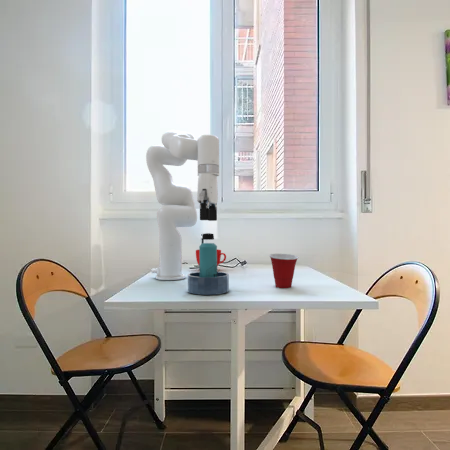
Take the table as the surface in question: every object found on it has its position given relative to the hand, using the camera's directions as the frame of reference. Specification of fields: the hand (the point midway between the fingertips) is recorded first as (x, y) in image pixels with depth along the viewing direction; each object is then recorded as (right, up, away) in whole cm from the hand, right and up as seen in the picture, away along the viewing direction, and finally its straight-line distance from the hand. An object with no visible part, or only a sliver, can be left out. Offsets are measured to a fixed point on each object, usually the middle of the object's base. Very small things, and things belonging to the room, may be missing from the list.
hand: (208, 220), depth 122 cm
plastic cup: (+28, -25, +9) cm, 38 cm away
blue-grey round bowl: (0, -25, 0) cm, 25 cm away
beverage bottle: (0, -25, 0) cm, 25 cm away
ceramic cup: (-1, -25, +56) cm, 61 cm away
